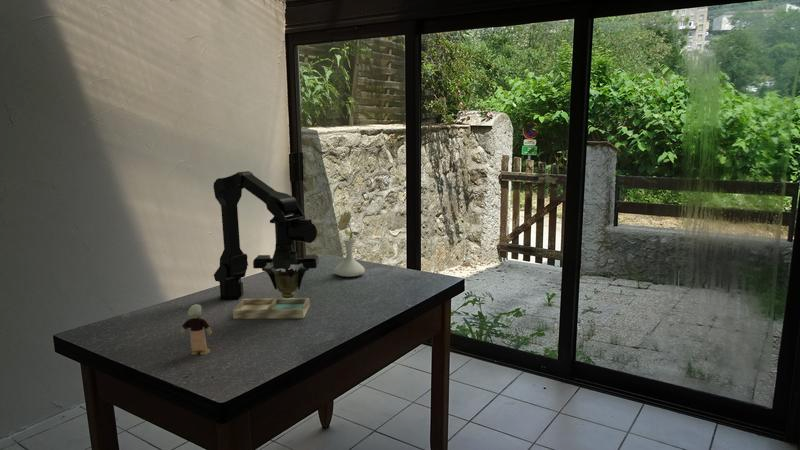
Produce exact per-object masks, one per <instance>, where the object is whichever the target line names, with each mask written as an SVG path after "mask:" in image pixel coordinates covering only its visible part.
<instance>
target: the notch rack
mask: <svg viewBox="0 0 800 450" xmlns="http://www.w3.org/2000/svg"><path fill="white" fill-rule="evenodd" d="M310 304H311V303H310V298H308V297H307V298H305V297H304V298H303V297H302V298H301V297H300V298H299V297H297V298H296V297H294V298H293V297H291V298H283V297H281V298H242V299H241V300H240V302H238V304H237V305H236V306H235V307H234V308H233V309H232V318H233V319H235V320H237V319H238V320H239V319H241V320H242V319H247V320H248V319H304V318H305V316H306V315H307V312H308V310H309V308H310Z"/></svg>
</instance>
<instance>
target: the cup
mask: <svg viewBox="0 0 800 450" xmlns="http://www.w3.org/2000/svg"><path fill="white" fill-rule="evenodd" d="M274 275H275V281H276V286H277V289H276V290H277V291H278V292H280V293H281V296H282V297H281V298H293V297H294V295H295V294H294V293H295V292H296V291H297V290H298V275H299V272H298V269H293V268H289V269H284V271H282V269H279V270H276V272H274Z"/></svg>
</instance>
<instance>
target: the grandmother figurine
mask: <svg viewBox="0 0 800 450" xmlns="http://www.w3.org/2000/svg"><path fill="white" fill-rule="evenodd" d="M202 310H203V309H202V305H201V304H197V303H195V304H193V305H191V306H190V307H189V309H188V311H187V313H186V314H187V315H188V316H190V317H191V318H189V319H187V320H185V322H184V323H183V324H182V326H181V327H182V328H181V330H180V333H182V334H185V333H186V330H187V329H188V330H189V329H190V331H189V332H190V334H189V337H190V338H189V339H190V340H189V341H190V345H191V355H192V356H196V355H198V354H199V355H201V356H205V355H207V354H209V353H211V349H210V348H208V347H207V339H206V333H205V331H206V332H207V335H212V333H213V332H212V330H211V327H210V325H209V323H208V322H207V321H206V320H205V319H204V318H201V316H202Z"/></svg>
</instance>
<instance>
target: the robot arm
mask: <svg viewBox="0 0 800 450" xmlns="http://www.w3.org/2000/svg"><path fill="white" fill-rule="evenodd" d="M212 186H213V193H214V197H215V199H216V200H217V202H218V203H219V205H220V209H221V211H220V212H221V222H222V223H221V224H222V225H221V226H222V238H223V239H222V240H223V251H222V254H221V256H220V257H219V267H218V268H217V269H216V271H215V272H214V273H213V278H214V281H216V282H218V283H219V293H220V295H219V298H218V300H221V301H222V300H230V301H231V300H232V301H233V300H240V298H242V296H243V295H244V294H245V293H244V282H243V281H242V278H245V277H246V273H247V270H248V267H249V263H248V254H247V253H244V252H243V251H242V249H241V245H240V244H241V240H240V225H239V224H240V223H239V211H238V210H239V209H238V204H239V202H240V200H241V198H242V195H243V194H242V193H243V192H242V191H243V189H245V190H246V191H248V192H249V193H250V194H252V195H253V196H255V197H256V198H257V199H259V200H260V201H261V202H263V203H264V204H265V206H266V209H267V211H268V212H269V213H271V214H272V216H273V217H272V218H271V219H270V220H269V223H270V224H274V233H275V234H274V237H275V248H274V252H273V255H272V258H271V255H270V254H258V255H257V256H256V257H255V258H254V259H253V260H252V268H253V269H261V271H262V272H265V273H266V274H267V275H268V276H269V279H270V281H271V283H272V286H273V288H274V290H278V289H277V286H276V281H275V275H274V272H276V271H277V270H278V269H279V270H285V269H288V270H289V269H291V265H292V266H293V265H297V266H298V265H299V268H298V269H297V271H298V272H299V275H298V288H297V290H300V289H301V286H302V283H303V279H304V276H305V273H306V272H308V271H309V270H310V269H317V268H318V266H319V264H320V258H319V256H318V255H317V254H305V255H304V257H303V258H302V257H301V258H300V257H298V252H297V250H296V247H297V245H296V242H300V243H306V244H312V243H313V242H314V241H315V240H316V238H317V235H318V229H317V227H316V225H315V224H314V223H312V222H313V221H312V218H306V217H305V215H304V212H303V211H302V209H301V208H300V205H299V204H298V201H297V199H296V198H295V197H294V196H293V195H290V194H288V193H285V192H281V191H277V190H275V189H274V188H272V187H271V186H270V185H268V184H266V182H264V181H262V180H261V179H259V178H258V177H257V176H255V175H254V174H253V172H252V171H248V170H247V171H238V172H236V173H235V174H233V175H232V174H231V175H229V176H226V177H218V178H216V180H215V181H214V182H213V185H212Z"/></svg>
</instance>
